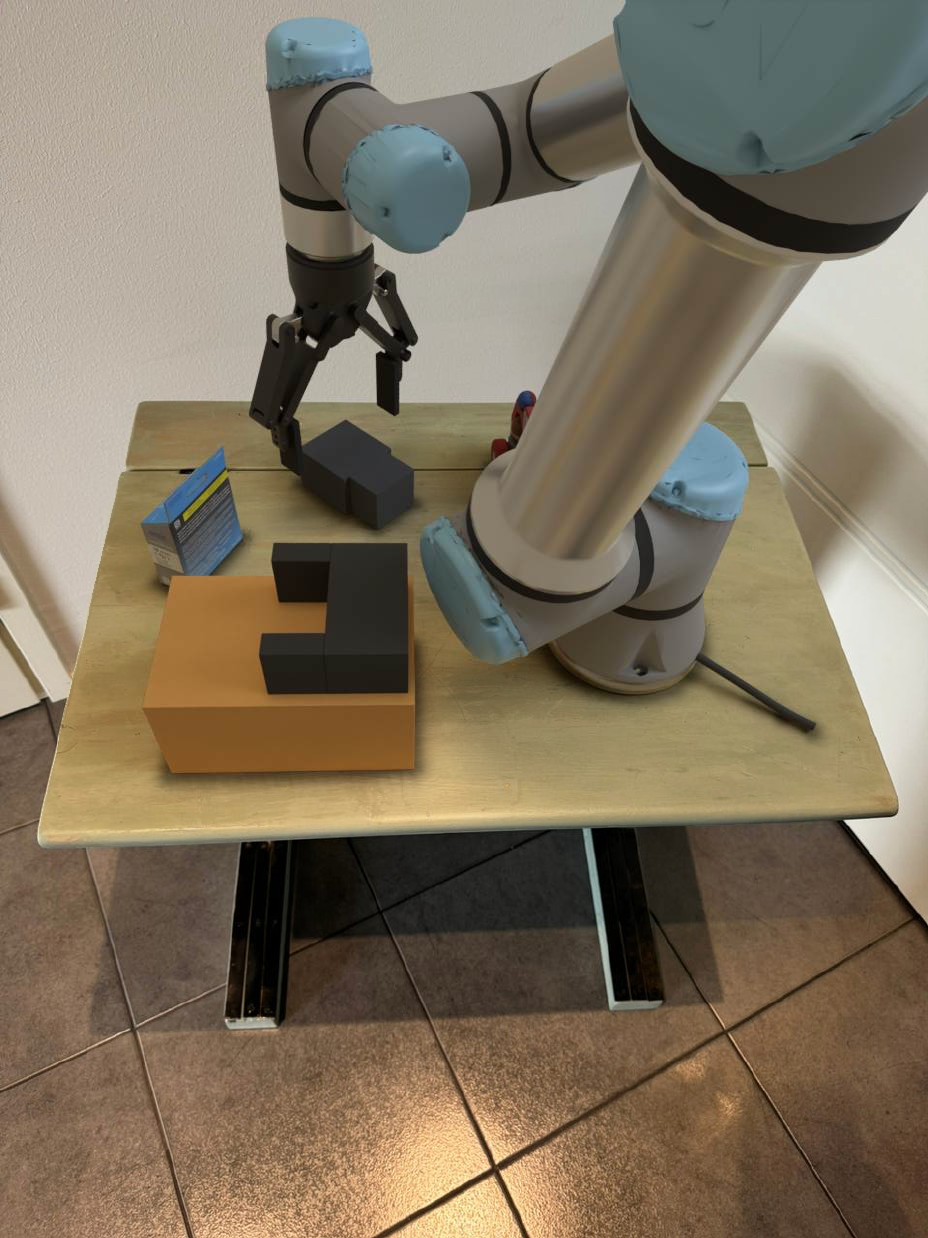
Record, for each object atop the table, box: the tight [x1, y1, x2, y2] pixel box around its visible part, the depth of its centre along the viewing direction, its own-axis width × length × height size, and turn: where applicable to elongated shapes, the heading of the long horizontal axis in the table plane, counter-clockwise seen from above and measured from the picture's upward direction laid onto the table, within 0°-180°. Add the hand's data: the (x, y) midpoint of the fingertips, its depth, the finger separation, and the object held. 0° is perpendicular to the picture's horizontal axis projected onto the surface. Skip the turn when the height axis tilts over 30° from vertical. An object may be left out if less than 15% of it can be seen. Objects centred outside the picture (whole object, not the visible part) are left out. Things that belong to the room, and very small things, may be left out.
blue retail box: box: [140, 445, 244, 587], centre depth 79 cm, size 9×4×12 cm, turn 156°
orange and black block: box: [141, 542, 416, 774], centre depth 68 cm, size 20×13×15 cm, turn 93°
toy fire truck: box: [490, 390, 537, 462], centre depth 90 cm, size 7×12×10 cm, turn 7°
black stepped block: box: [300, 419, 415, 531], centre depth 89 cm, size 11×7×5 cm, turn 49°
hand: (342, 438), depth 87 cm, fingers open, 13 cm apart
